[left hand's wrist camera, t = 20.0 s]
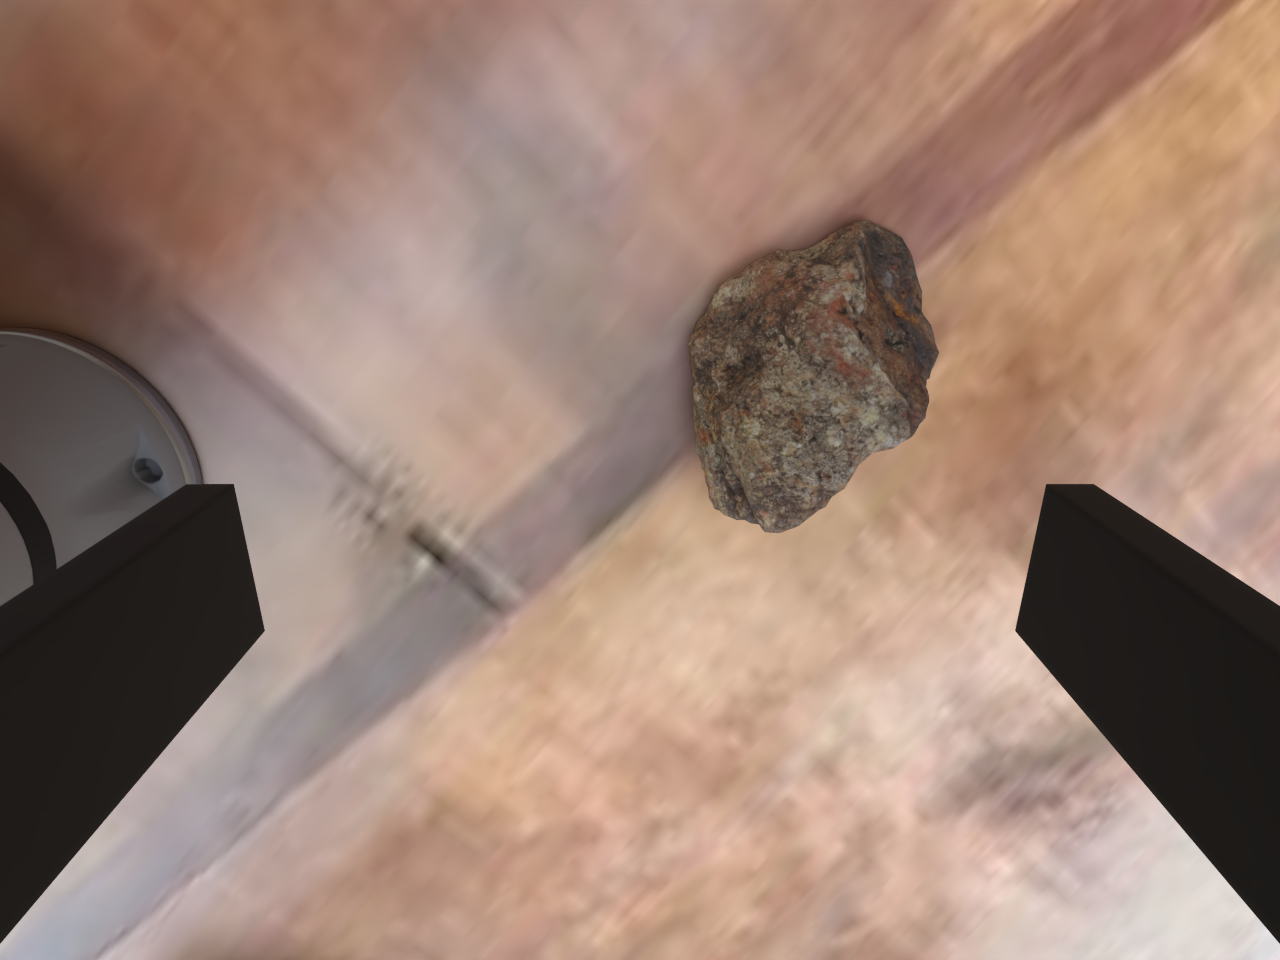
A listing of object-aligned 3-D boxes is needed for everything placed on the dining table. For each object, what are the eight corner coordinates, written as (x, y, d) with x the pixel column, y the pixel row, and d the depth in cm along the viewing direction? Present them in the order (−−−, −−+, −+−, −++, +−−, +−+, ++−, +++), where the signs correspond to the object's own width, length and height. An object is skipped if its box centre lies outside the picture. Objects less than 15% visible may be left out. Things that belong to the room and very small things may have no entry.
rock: (950, 354, 39) (863, 182, 36) (1045, 388, 31) (943, 170, 28) (715, 501, 41) (614, 349, 38) (746, 570, 33) (620, 384, 30)
